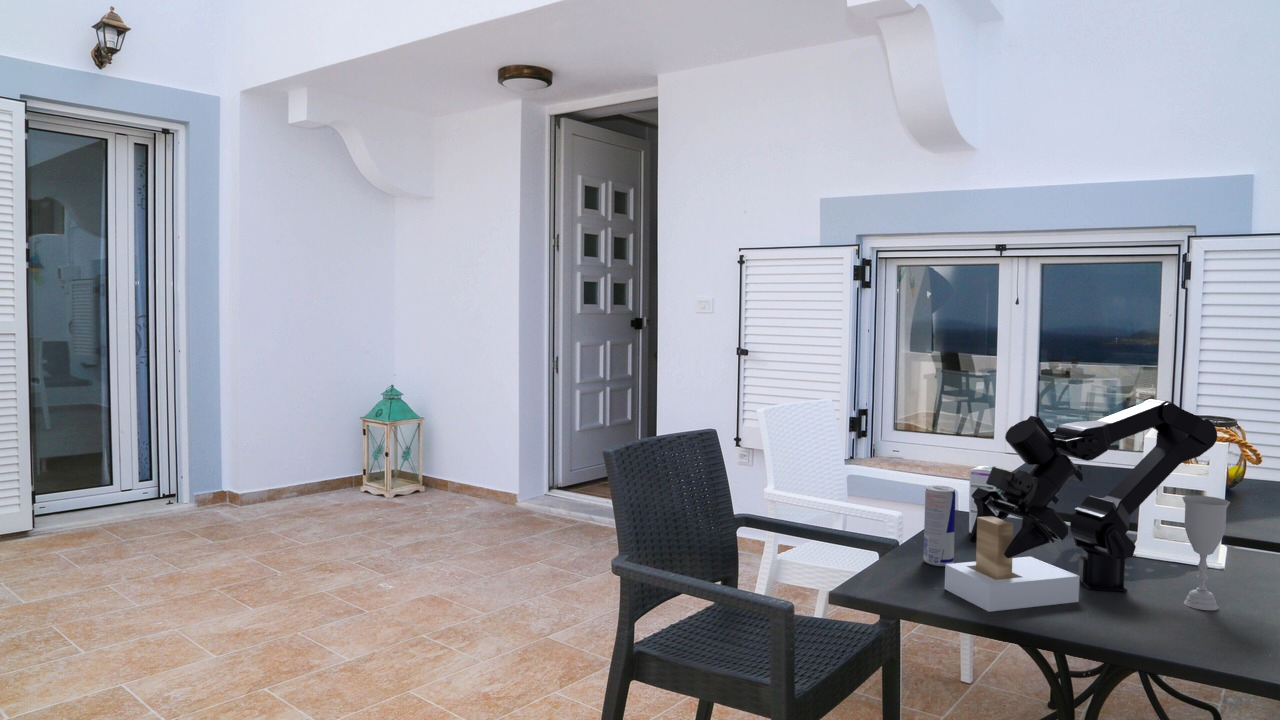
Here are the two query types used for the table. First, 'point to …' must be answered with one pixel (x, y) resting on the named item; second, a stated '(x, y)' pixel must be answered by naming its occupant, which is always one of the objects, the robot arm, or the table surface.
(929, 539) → the beverage can
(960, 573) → the box
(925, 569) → the table surface
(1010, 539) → the plate
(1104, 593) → the table surface
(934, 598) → the table surface
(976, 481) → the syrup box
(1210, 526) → the chalice
